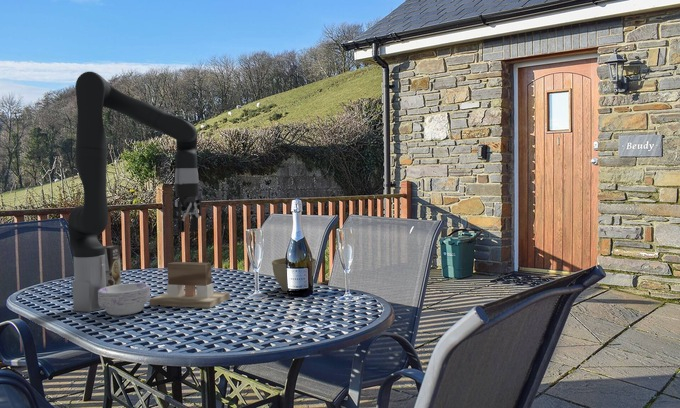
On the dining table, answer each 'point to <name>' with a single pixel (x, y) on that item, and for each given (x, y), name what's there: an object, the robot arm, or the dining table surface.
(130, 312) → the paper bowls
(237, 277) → the dining table surface
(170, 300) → the display stand
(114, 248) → the coffee box
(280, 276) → the planter bowl
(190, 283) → the walnut bar
